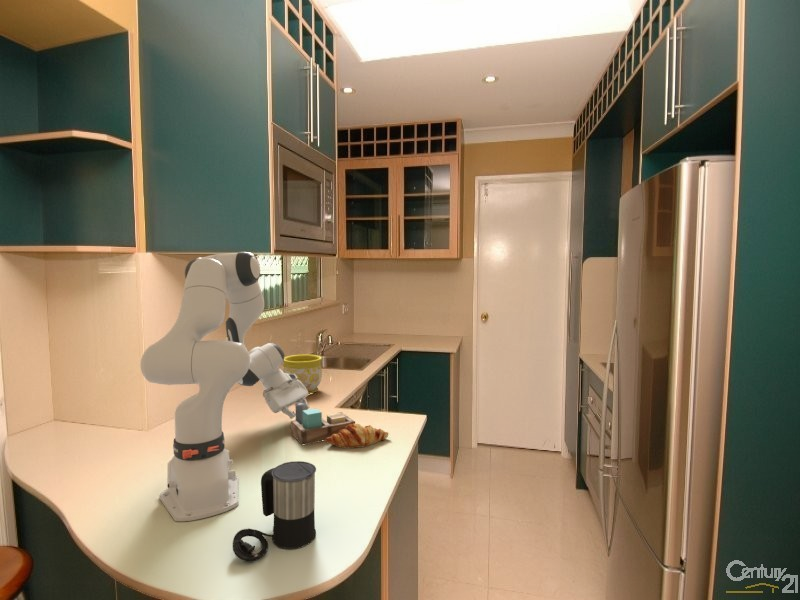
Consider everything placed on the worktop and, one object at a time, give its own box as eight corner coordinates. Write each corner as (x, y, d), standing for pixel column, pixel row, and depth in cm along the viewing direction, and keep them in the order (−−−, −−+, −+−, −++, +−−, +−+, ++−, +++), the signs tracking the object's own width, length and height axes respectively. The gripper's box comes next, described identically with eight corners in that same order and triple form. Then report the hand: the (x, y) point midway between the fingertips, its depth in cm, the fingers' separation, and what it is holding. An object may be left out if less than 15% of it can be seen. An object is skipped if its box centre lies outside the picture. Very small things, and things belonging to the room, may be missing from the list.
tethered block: (321, 438, 151) (321, 412, 150) (307, 440, 148) (307, 414, 147) (305, 423, 165) (305, 399, 165) (292, 425, 163) (291, 401, 162)
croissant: (385, 446, 153) (382, 422, 156) (394, 442, 144) (391, 417, 148) (324, 453, 145) (322, 428, 149) (330, 449, 137) (328, 423, 140)
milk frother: (323, 528, 98) (323, 463, 97) (288, 575, 83) (287, 498, 82) (267, 518, 101) (265, 456, 101) (222, 562, 86) (221, 488, 85)
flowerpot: (306, 399, 195) (305, 363, 194) (274, 394, 203) (274, 359, 202) (329, 390, 211) (329, 356, 210) (299, 385, 219) (299, 353, 218)
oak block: (345, 433, 155) (345, 416, 155) (332, 436, 152) (332, 419, 152) (339, 429, 159) (339, 412, 159) (326, 431, 157) (326, 415, 156)
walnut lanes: (355, 434, 154) (355, 421, 154) (302, 444, 144) (302, 431, 144) (341, 423, 165) (341, 412, 164) (291, 433, 155) (291, 420, 154)
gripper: (265, 386, 154) (290, 416, 151) (297, 373, 173) (319, 400, 171) (255, 397, 156) (279, 427, 153) (288, 383, 175) (309, 410, 172)
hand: (300, 413), depth 162 cm, fingers open, 8 cm apart
